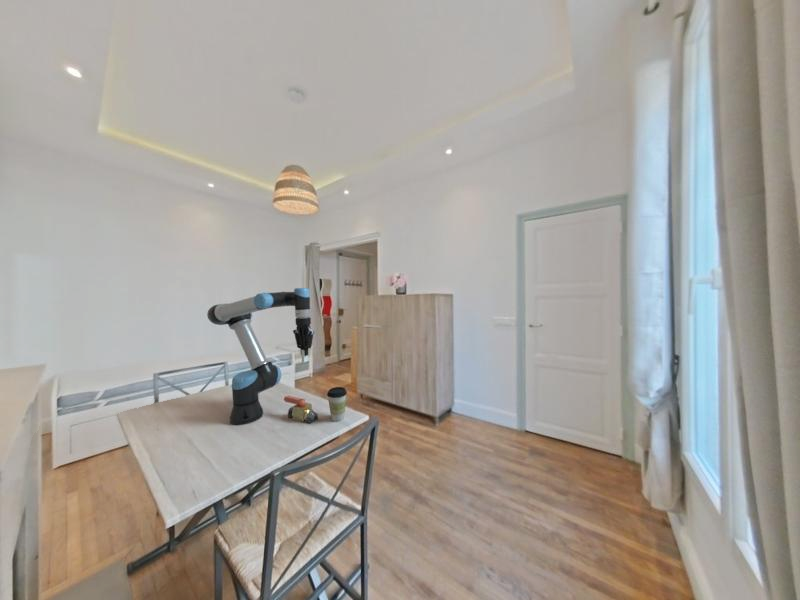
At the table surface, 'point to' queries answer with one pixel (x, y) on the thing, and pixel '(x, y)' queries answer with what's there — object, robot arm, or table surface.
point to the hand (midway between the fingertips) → (304, 361)
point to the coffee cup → (337, 403)
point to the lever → (295, 400)
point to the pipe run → (303, 413)
